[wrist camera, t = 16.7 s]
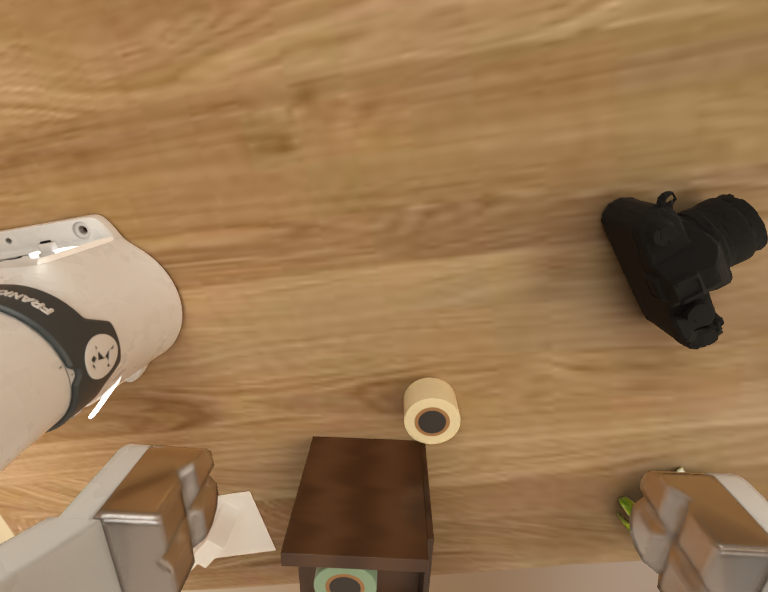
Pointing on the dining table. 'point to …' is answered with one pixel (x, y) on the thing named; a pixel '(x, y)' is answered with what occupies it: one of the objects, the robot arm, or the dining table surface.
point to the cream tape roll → (431, 411)
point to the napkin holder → (234, 530)
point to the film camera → (682, 258)
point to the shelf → (363, 513)
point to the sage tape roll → (345, 580)
